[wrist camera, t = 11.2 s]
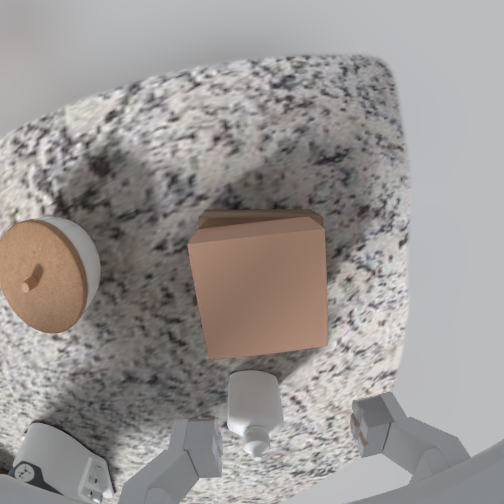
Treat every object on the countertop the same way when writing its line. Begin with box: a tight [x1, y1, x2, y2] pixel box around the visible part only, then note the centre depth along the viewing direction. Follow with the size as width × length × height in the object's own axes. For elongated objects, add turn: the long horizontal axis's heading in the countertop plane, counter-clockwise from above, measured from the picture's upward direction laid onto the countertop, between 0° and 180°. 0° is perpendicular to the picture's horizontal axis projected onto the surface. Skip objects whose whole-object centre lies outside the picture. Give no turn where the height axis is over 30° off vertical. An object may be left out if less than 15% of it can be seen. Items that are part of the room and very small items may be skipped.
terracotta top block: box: [187, 217, 328, 360], centre depth 24 cm, size 9×9×5 cm
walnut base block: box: [199, 209, 323, 229], centre depth 29 cm, size 10×10×5 cm
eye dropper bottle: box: [227, 370, 283, 461], centre depth 29 cm, size 4×6×12 cm
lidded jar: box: [0, 217, 101, 333], centre depth 25 cm, size 11×11×9 cm
